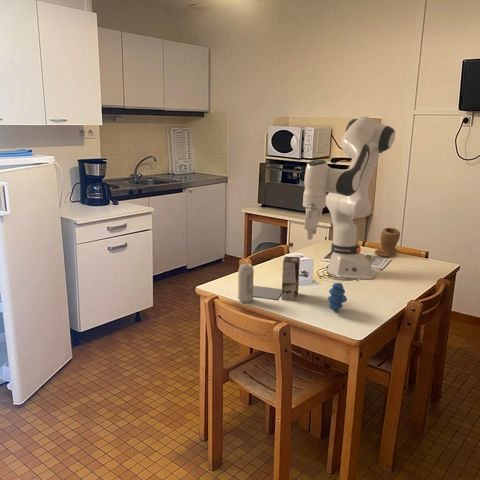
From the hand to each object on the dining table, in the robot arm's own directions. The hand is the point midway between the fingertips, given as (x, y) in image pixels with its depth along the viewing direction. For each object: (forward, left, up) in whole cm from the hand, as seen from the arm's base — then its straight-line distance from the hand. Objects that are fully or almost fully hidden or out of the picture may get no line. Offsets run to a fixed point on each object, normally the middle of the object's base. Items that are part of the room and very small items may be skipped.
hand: (311, 236), depth 192 cm
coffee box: (+8, 0, -27) cm, 28 cm away
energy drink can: (+24, +11, -27) cm, 37 cm away
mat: (+20, 0, -26) cm, 33 cm away
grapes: (-13, +10, -27) cm, 31 cm away
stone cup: (-29, -79, -27) cm, 88 cm away
